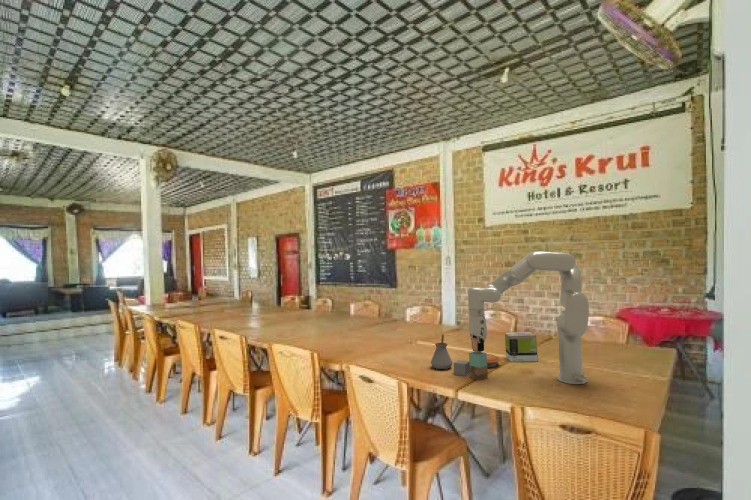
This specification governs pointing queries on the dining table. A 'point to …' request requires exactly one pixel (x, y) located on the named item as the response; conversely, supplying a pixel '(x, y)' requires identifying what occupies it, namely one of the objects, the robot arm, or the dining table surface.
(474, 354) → the tower top
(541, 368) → the dining table surface
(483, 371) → the block
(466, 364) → the block
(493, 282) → the robot arm
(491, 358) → the pie
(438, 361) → the coffee pot
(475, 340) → the pink rounded piece
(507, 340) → the tea box
